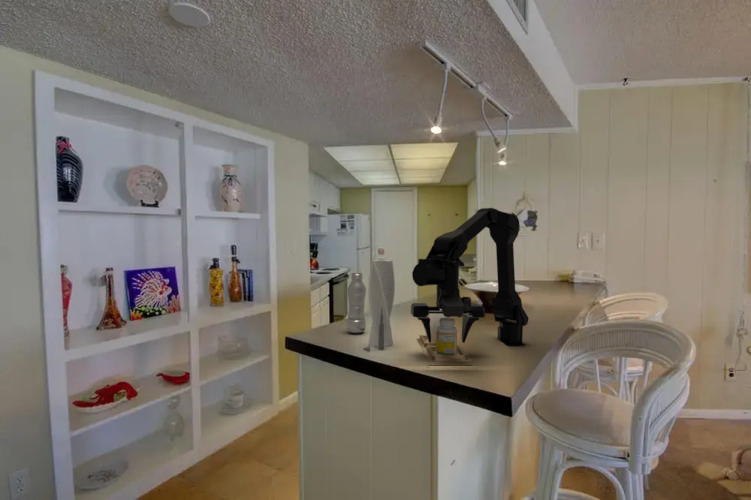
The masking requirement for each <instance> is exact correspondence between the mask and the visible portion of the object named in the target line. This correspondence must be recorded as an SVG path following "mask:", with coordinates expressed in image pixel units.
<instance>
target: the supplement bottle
mask: <svg viewBox="0 0 751 500" xmlns="http://www.w3.org/2000/svg"><path fill="white" fill-rule="evenodd" d="M439 323H440V326H439V327H438V328H437V344H436V353H437V355H457V345H458V329H457V327H455V325H456V320H455V318H453V317H446V318H440V320H439Z"/></svg>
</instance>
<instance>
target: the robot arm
mask: <svg viewBox="0 0 751 500" xmlns="http://www.w3.org/2000/svg"><path fill="white" fill-rule="evenodd" d="M485 228H488V229H489V230H488V231H489V236H490V238H491V239H492V240H493V242H494V243H495V251H496V252H495V253H496V270H497V271H496V272H497V275H496V276H497V292H496V294H495V296H492V298H491V303H492V305H491V311H492V313H493V317H494V321H495V322H499V326H497V337H496V339H497V340H499V341H500V342H501V343H502V344H504V345H505V346H525V342H523V331H524V329H523V328H524V327H526V326H527V325H528V322H529V316H528V315H527V313H526V311H525V309H524V308H523V303H522V298H521V297H520V295H519V294H518V292H517V290H516V279H515V278H516V276H515V256H514V255H515V253H514V251H515V250H514V243H515V241H516V239H517V237H518V236H519V230H520V220H519V218H518V217H517V215H515V214H514V213H508V212H505V211H501V210H498V209H497V208H493V207H486V208H485V207H484V208H483V207H482V208H480V209H478V210H477V211H476V213H474V214H473V215H472V216H470V218H468V219H467V220H466V221H464V223H462V224H461V225H460V226H458V227H457V228H456V229H455V230H452V231H449V232H445V233H443V234H441V235H439V236H437V237H435V239H434V241H433V244H432V246H431V248H430V250H429V251H428V253H427V256H426V257H425V258H418V261H417V264H416V265H415V266H414V267H413V271H412V272H411V276H412V280H413V283H414V284H415V285H417V286H418V287H426V286H436V298H435V299H436V303H435V305H436V306H430V305H428V304H427V303H425V302H413V303H411V305H410V315H411V316H412V317H413V318H417V320H418V321H421V324H422V325H423V328H424V331H425V335H427V338H428V341H429V343H431V331H430V316H429V315H430V313H431V314H443V315H444V316H445V317H446V318H452V317H457V318H462V321H461V322H462V326H461V343H463V344H465V342H466V341H467V338H468V334H469V332H470V330H471V328H472V326H473V325H474V323H476V321H477V322H478V321H479V320H480V318H485V317H486V309H485V307H484V306H483V305H481V304H479V303H472V298H471V297H470V296H462V297H461V294H460V287H459V286H460V283H459V281H460V278H459V277H460V267H465V263H464V262H463V261H462V260H461V259H460V258H461V257H462V256H463V254H464V253H465V252H466V251H467V250H468V245H469V243H470V241H472V240H473V239H474V238H475V237H477V236H478V234H480V233H481V232H482V231H483V230H484V229H485ZM440 309H442V310H440Z"/></svg>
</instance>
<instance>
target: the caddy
mask: <svg viewBox="0 0 751 500" xmlns="http://www.w3.org/2000/svg"><path fill="white" fill-rule="evenodd" d="M416 340H417V341H416V342H417V343H418V344H419V345H418V346H419V347H420V348H421V350H422V352H423V353H424V355H425V357H426V358H427V360H428V362H473V361H472V359H471V358H470V357H469V355H468V354H467V353H466V352H465V351H464V350H463V349H462V347H461V346H460V345H458V344H457V355H437V353H436V344H437V342H431V343H429V341H428V338H427V335H426V334H419V338H416ZM429 366H430V367H431V366H432V367H438V366H439V367H448V366H449V367H452V366H453V367H458V366H459V367H464V366H465V367H466V366H467V367H470V366H473V364H428V367H429Z"/></svg>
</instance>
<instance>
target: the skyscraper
mask: <svg viewBox="0 0 751 500" xmlns="http://www.w3.org/2000/svg"><path fill="white" fill-rule="evenodd" d="M371 253H372V254H371V264H370V265H371V266H370V269H369V271H370V272H369V278H368V301H369V304H368V305H369V310H370V315H371V319H372V320H371V326H370V332H369V339H368V342H367V343H368V344H367V346H365V347H364V348H362V349H363V351H367V352H371V346H372V347H373V346H374V347H377V350H379V351H384V350H385V348H387V347H390V346H394V341H393V334H392V327H391V320H390V318H391V315H392V311H393V306H394V302H395V301H394V300H395V286H396V285H395V272H394V270H395V269H394V263H393V258H392V257H389V259H387V257H383V256H379V257H376V259H375V252H374V251H372V252H371Z"/></svg>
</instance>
